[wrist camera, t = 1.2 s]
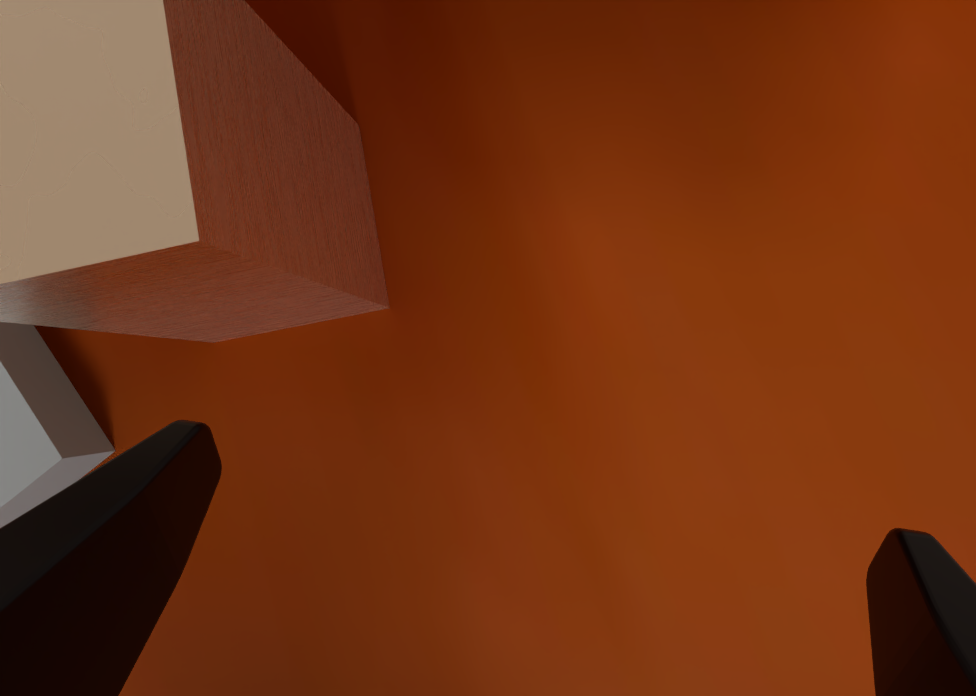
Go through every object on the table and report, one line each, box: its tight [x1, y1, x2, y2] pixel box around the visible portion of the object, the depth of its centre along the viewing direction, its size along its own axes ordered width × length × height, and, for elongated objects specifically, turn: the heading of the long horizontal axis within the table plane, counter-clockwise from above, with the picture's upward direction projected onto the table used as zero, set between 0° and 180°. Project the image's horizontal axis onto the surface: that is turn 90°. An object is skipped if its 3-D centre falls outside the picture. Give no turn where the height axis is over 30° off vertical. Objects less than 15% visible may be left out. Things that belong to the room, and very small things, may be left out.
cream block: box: [0, 0, 390, 342], centre depth 19 cm, size 6×6×12 cm
